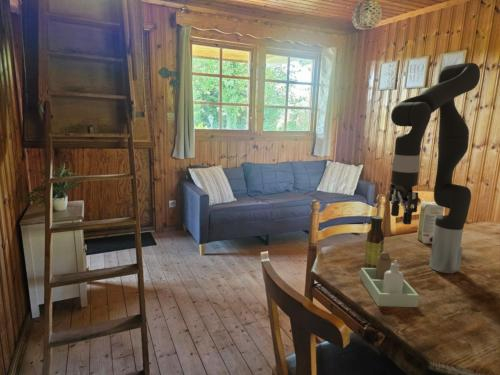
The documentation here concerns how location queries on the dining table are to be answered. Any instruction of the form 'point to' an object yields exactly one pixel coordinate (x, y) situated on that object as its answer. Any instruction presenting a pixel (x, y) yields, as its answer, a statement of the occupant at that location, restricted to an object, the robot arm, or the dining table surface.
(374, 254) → the sauce bottle
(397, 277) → the eye dropper bottle
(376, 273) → the caddy
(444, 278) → the dining table surface
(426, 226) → the juice carton
